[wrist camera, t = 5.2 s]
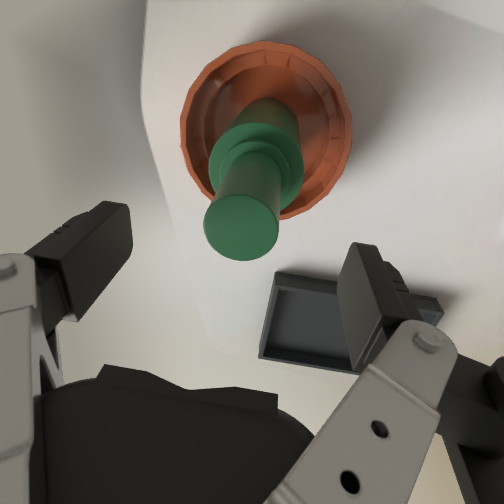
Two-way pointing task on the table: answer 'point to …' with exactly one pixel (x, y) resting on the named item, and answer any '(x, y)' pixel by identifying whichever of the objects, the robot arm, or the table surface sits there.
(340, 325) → the tray
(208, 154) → the bowl
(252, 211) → the bottle
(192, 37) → the table surface
